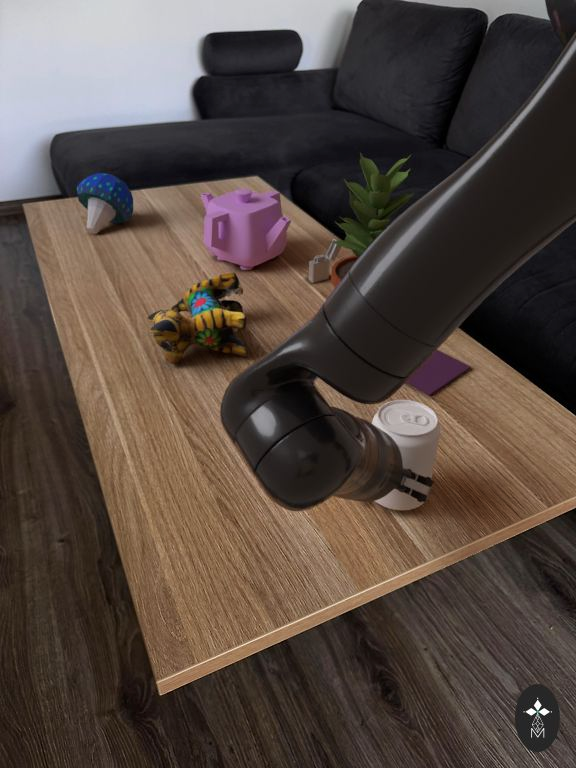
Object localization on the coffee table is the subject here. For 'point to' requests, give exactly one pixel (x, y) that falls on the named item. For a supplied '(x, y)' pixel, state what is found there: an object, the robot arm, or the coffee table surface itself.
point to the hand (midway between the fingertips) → (393, 474)
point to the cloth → (437, 373)
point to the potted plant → (369, 212)
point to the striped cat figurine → (202, 319)
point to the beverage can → (409, 443)
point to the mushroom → (105, 200)
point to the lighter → (322, 264)
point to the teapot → (245, 226)
